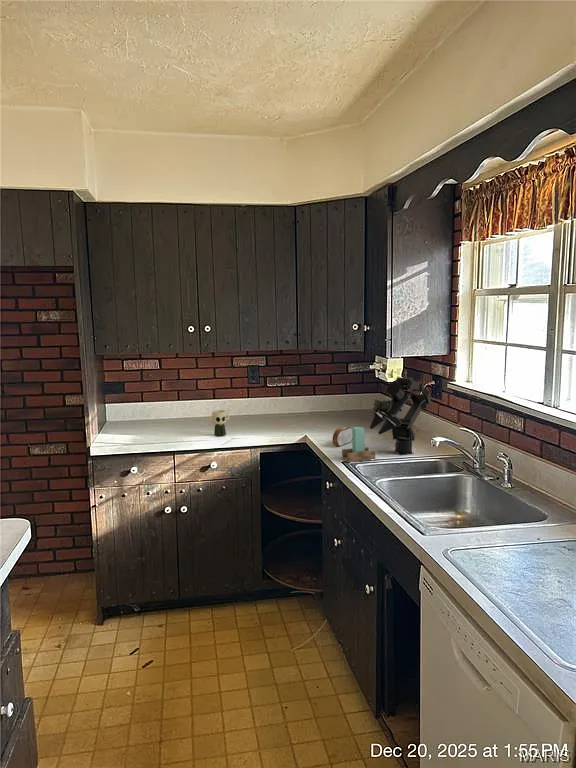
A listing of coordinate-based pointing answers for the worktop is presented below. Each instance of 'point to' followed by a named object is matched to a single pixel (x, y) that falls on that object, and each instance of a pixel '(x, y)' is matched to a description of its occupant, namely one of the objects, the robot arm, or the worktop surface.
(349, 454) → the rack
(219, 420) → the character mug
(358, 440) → the block
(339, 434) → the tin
